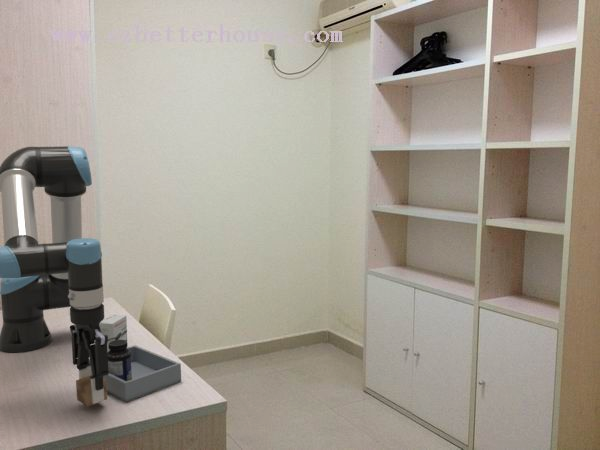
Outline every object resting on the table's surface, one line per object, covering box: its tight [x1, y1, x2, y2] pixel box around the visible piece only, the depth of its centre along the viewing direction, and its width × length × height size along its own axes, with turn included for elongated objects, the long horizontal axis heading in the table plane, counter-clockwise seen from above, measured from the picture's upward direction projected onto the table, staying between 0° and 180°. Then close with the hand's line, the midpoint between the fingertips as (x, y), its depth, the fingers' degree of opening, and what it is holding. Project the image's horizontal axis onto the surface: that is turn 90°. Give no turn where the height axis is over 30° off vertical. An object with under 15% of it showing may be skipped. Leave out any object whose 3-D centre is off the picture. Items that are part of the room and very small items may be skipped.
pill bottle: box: [108, 340, 132, 381], centre depth 148 cm, size 6×6×11 cm
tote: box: [87, 344, 182, 404], centre depth 151 cm, size 22×17×5 cm
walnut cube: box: [75, 375, 108, 407], centre depth 136 cm, size 5×5×5 cm
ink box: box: [99, 314, 129, 352], centre depth 168 cm, size 8×5×12 cm, turn 168°
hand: (92, 397), depth 136 cm, fingers closed on walnut cube, 5 cm apart
